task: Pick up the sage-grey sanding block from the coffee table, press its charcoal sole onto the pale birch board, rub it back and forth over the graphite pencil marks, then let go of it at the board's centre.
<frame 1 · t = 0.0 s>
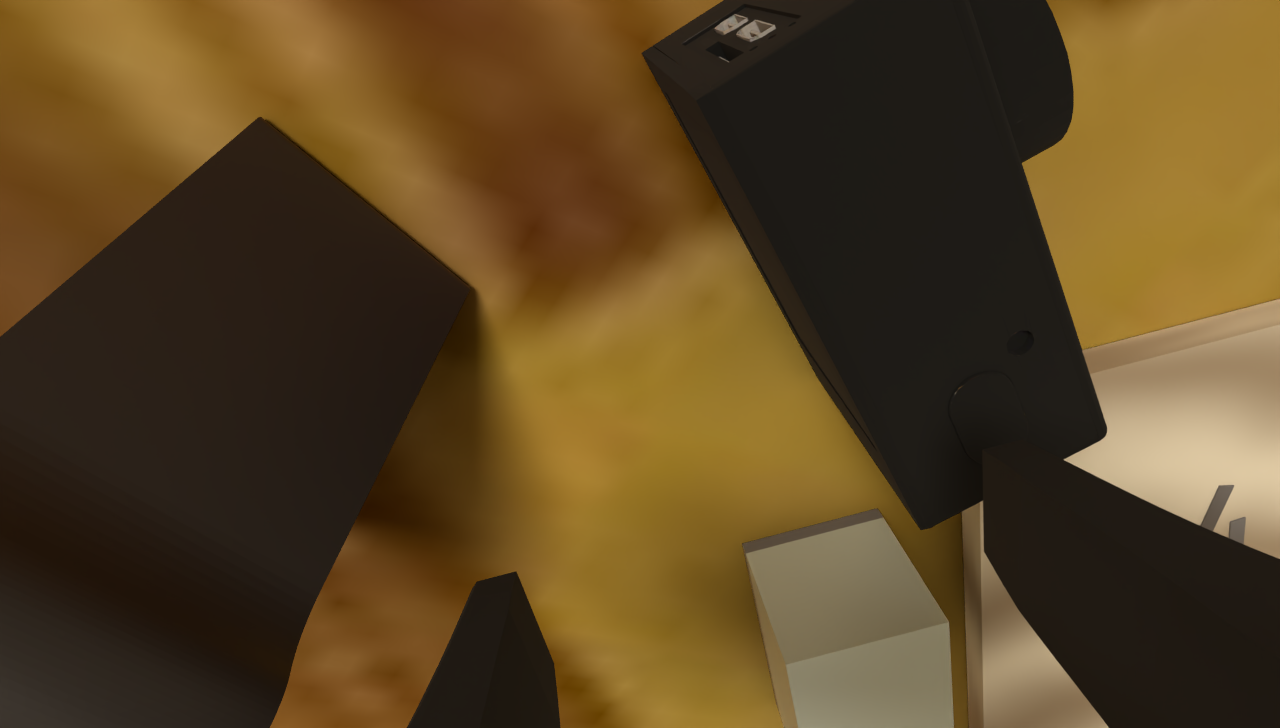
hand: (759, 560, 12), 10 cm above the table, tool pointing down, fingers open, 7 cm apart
sanding block: (822, 610, 27), on the table
digital camera: (830, 178, 20), on the table
birch board: (1157, 547, 27), on the table
phone stand: (266, 325, 20), on the table
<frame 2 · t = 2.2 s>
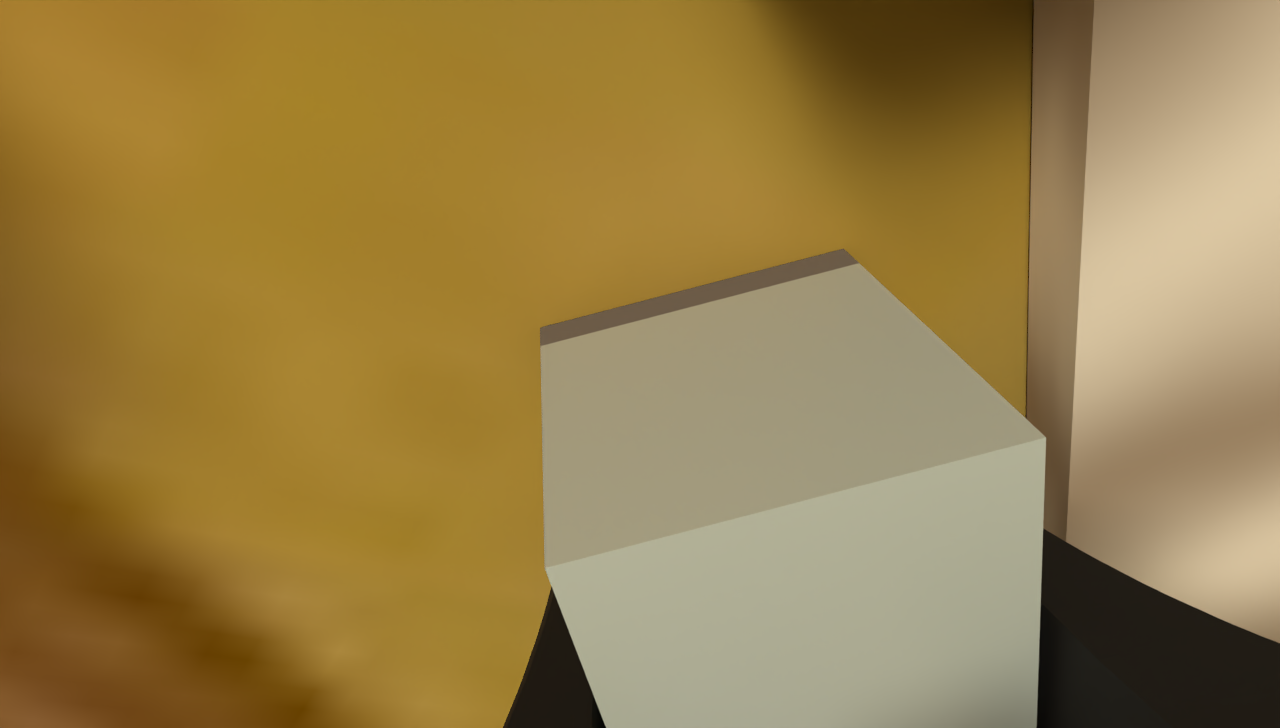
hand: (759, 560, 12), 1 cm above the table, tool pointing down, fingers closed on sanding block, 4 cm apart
sanding block: (737, 502, 13), on the table, touching gripper
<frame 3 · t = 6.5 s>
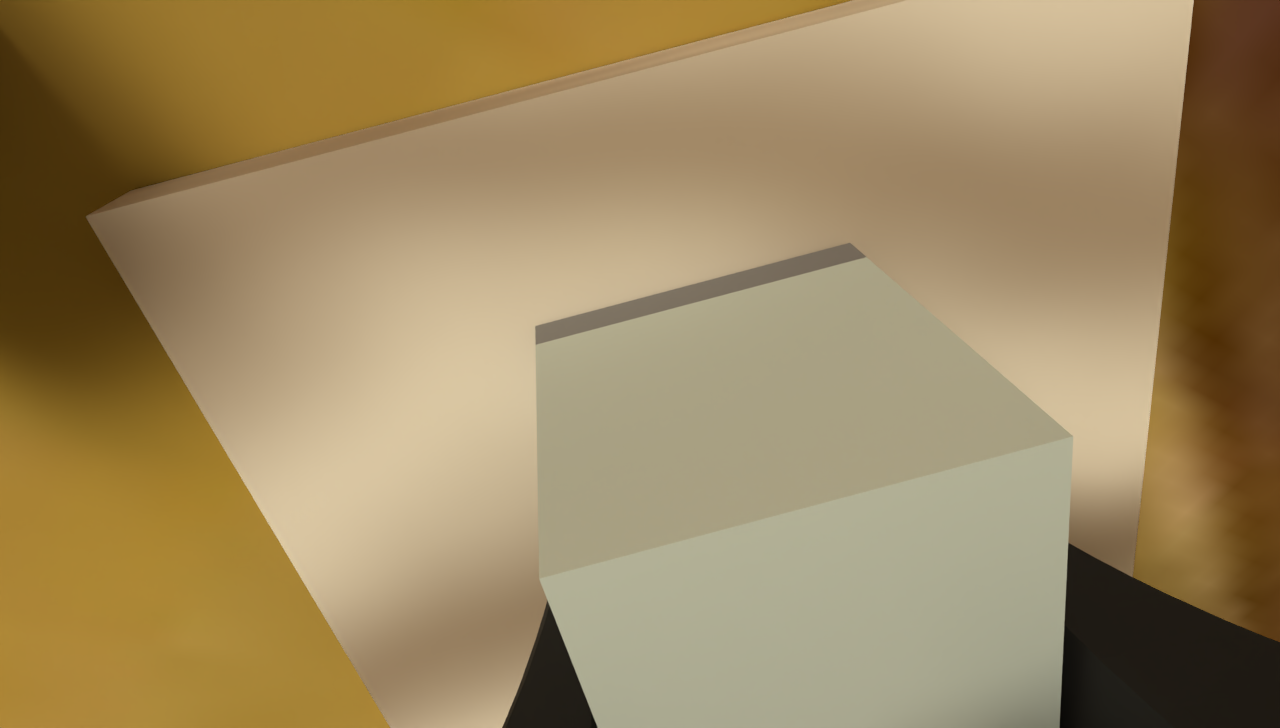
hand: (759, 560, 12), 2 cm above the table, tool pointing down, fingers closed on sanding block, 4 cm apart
sanding block: (740, 506, 13), point 1 cm above the table, touching gripper
birch board: (741, 550, 15), on the table
when the fingers open (2 cm above the table, at t = 11.0 s): sanding block stays where it is, resting on birch board.
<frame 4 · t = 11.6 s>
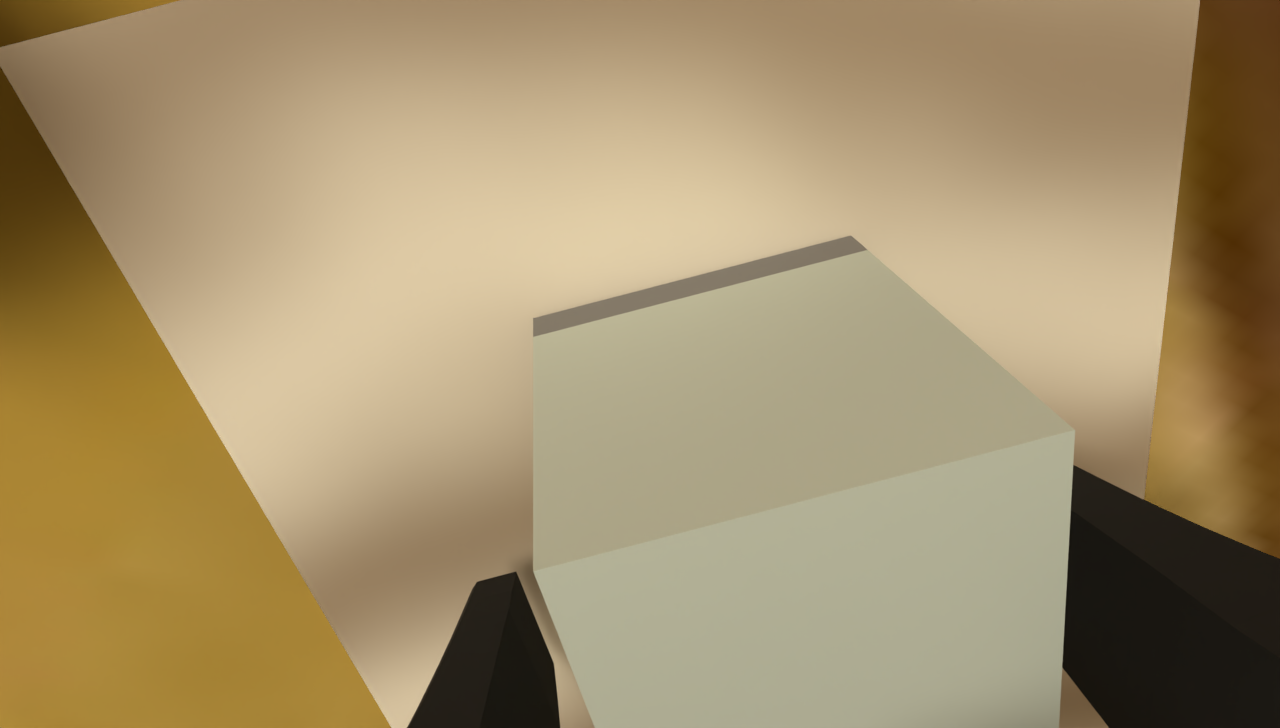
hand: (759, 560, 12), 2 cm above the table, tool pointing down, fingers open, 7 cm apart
sanding block: (739, 501, 13), point 1 cm above the table, touching birch board
birch board: (726, 472, 14), on the table
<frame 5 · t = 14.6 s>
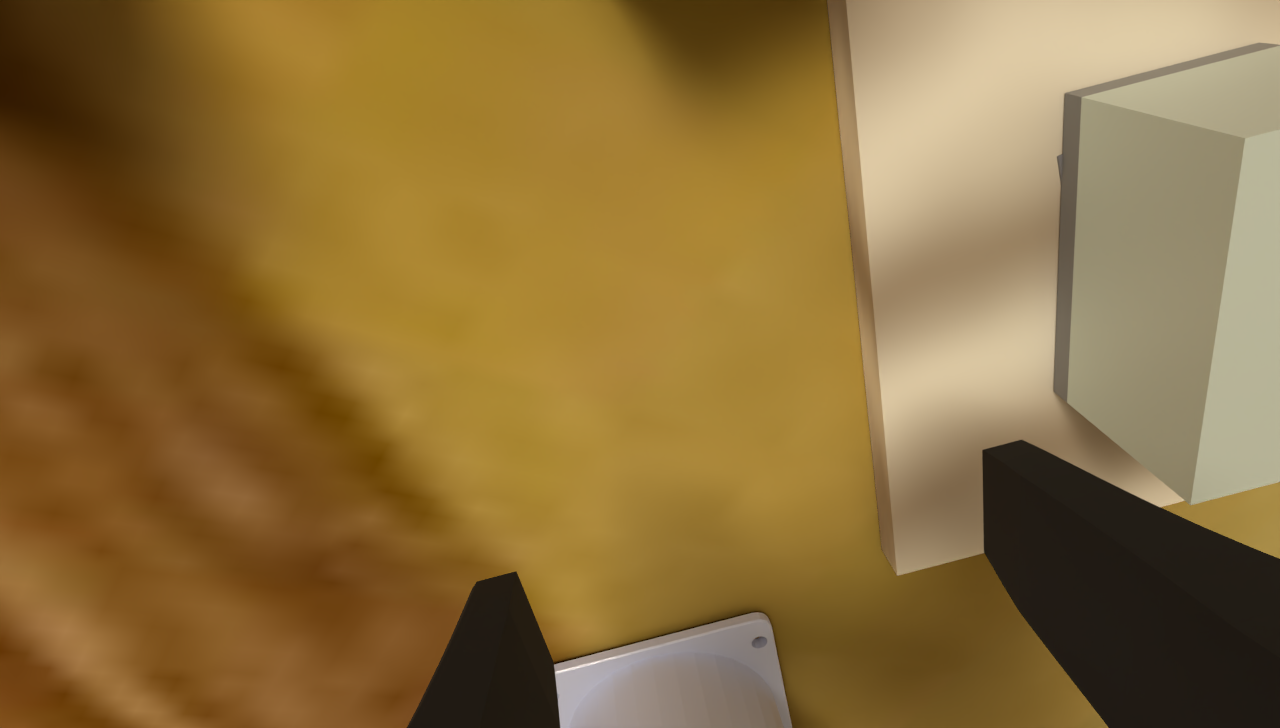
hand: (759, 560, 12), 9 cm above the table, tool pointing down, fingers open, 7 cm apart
sanding block: (1146, 234, 19), point 1 cm above the table, touching birch board
birch board: (1112, 231, 21), on the table
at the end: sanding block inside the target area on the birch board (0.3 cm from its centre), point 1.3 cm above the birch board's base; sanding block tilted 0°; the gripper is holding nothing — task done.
